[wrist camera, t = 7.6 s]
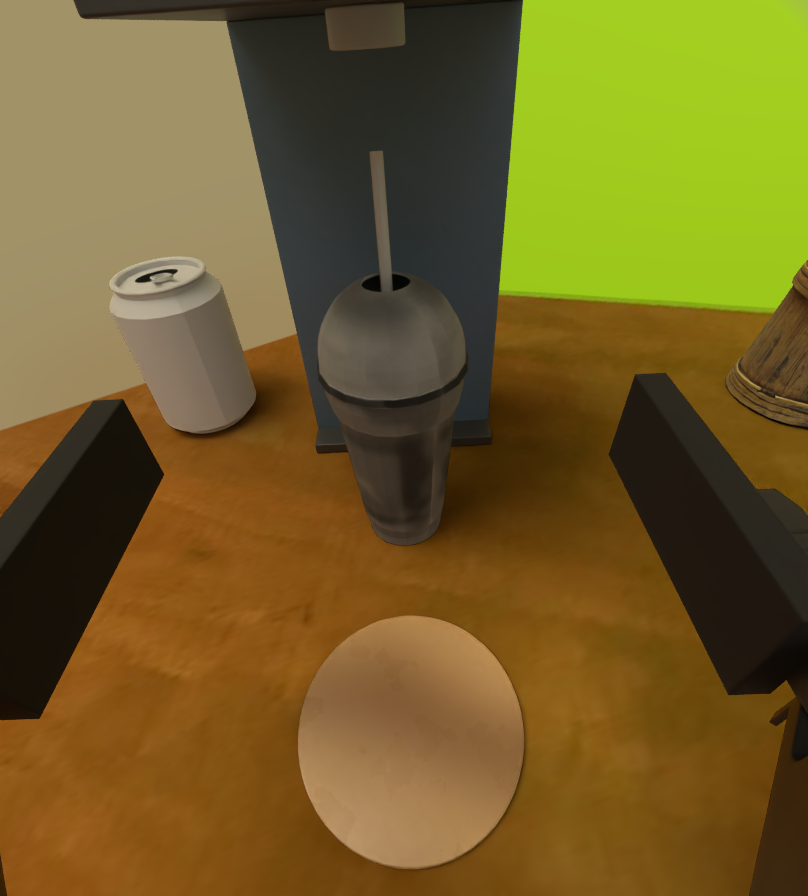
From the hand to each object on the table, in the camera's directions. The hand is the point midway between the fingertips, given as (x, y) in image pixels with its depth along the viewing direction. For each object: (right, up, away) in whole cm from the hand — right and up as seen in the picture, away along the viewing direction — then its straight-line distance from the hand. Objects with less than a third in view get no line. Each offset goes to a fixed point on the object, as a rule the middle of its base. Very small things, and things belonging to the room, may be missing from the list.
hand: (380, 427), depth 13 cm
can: (-15, +2, +27) cm, 31 cm away
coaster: (+1, -13, +9) cm, 16 cm away
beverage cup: (+1, -5, +18) cm, 18 cm away
